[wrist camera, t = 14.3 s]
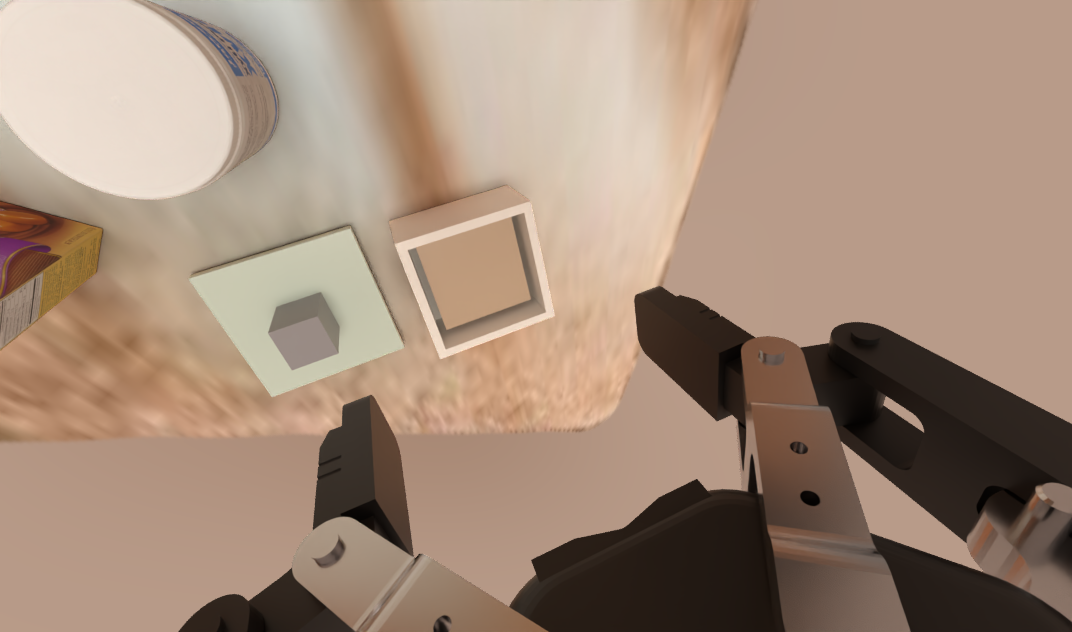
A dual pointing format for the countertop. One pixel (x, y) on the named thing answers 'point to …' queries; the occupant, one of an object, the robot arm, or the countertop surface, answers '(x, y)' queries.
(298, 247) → the lid
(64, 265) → the candy box
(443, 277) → the storage box
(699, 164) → the countertop surface
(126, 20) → the supplement tub
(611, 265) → the countertop surface
